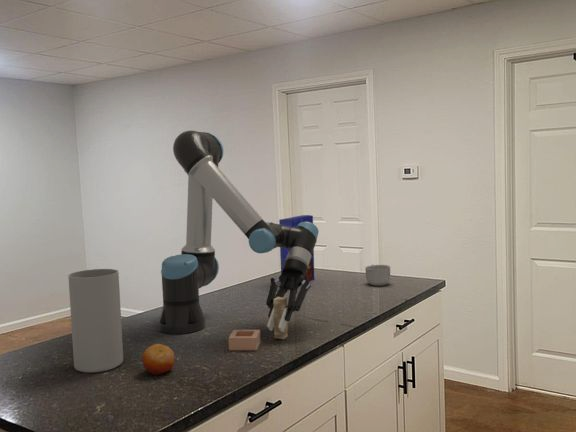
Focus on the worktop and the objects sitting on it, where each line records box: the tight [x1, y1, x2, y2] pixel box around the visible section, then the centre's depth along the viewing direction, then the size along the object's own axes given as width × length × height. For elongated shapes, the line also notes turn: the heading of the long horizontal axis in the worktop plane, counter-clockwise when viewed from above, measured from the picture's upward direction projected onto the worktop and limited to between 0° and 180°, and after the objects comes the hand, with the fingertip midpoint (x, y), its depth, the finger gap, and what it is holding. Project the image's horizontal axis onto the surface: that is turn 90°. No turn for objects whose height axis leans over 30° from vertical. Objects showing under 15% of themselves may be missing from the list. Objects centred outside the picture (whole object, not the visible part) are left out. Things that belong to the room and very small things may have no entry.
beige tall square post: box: [273, 297, 289, 340], centre depth 165 cm, size 3×3×12 cm
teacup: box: [364, 264, 391, 287], centre depth 240 cm, size 14×11×8 cm
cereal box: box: [278, 214, 315, 282], centre depth 245 cm, size 22×6×30 cm, turn 153°
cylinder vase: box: [68, 268, 124, 374], centre depth 145 cm, size 12×12×25 cm
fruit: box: [141, 343, 175, 376], centre depth 140 cm, size 8×8×8 cm
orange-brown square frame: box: [228, 329, 261, 351], centre depth 159 cm, size 8×8×4 cm
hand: (275, 328), depth 162 cm, fingers closed on beige tall square post, 3 cm apart
